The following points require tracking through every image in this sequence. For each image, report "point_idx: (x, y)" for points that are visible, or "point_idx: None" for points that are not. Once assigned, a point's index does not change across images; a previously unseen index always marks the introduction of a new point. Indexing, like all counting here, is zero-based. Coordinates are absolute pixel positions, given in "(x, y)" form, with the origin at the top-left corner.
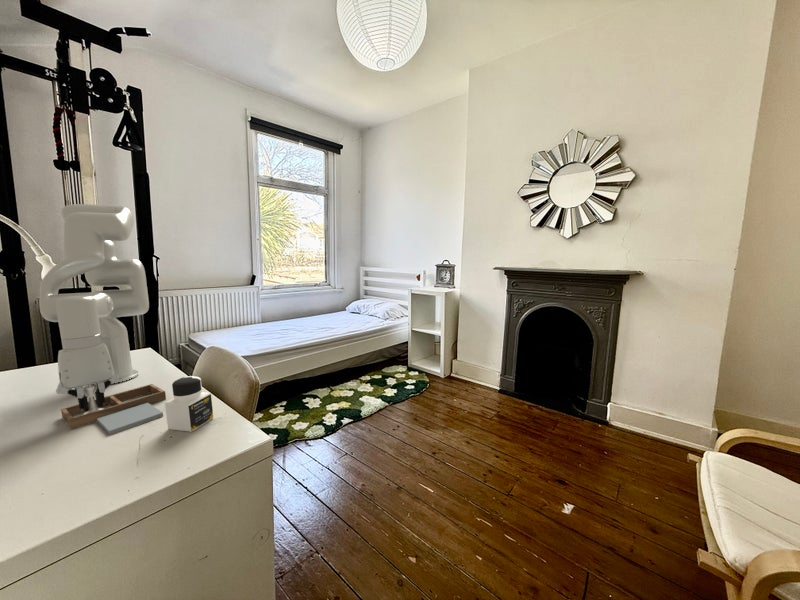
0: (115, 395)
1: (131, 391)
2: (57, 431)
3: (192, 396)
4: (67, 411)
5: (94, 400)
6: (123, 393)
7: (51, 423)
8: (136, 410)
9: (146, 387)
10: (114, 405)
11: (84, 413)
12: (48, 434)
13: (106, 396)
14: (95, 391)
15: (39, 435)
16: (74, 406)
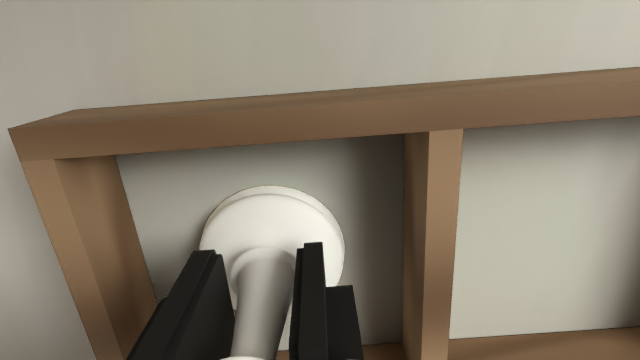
0: (483, 126)
1: (636, 111)
2: (90, 344)
3: None
4: (83, 256)
5: (276, 349)
6: (558, 120)
7: (21, 170)
8: None
9: None
10: (409, 243)
11: (214, 249)
12: (52, 349)
13: (410, 97)
14: (298, 353)
15: (5, 326)
16: (124, 153)
